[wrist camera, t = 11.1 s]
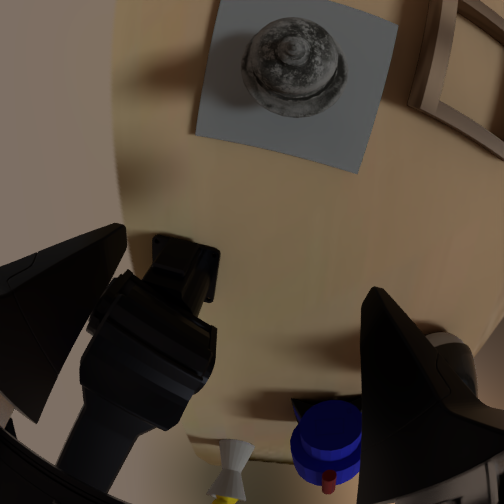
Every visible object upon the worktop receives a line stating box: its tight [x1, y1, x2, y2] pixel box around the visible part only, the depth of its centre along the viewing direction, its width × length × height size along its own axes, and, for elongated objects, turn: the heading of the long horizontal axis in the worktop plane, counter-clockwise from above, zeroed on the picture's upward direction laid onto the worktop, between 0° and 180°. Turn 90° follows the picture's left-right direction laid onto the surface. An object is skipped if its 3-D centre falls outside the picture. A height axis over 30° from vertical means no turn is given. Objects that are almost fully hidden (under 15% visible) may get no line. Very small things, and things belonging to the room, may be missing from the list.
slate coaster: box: [195, 0, 398, 174], centre depth 16 cm, size 12×12×1 cm
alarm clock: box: [290, 397, 362, 494], centre depth 33 cm, size 12×12×15 cm
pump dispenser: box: [426, 332, 478, 398], centre depth 23 cm, size 10×10×15 cm
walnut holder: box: [407, 0, 504, 161], centre depth 12 cm, size 11×11×2 cm
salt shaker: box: [241, 17, 349, 118], centre depth 11 cm, size 6×6×12 cm
